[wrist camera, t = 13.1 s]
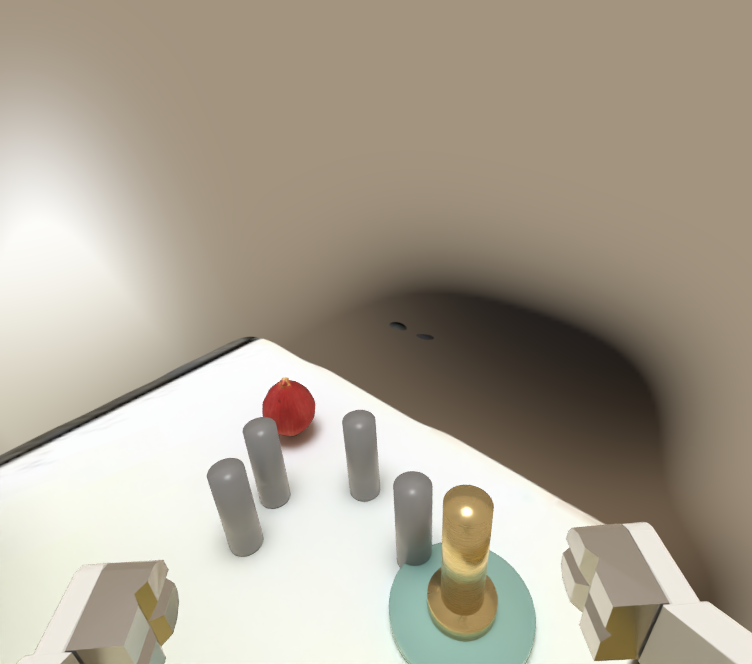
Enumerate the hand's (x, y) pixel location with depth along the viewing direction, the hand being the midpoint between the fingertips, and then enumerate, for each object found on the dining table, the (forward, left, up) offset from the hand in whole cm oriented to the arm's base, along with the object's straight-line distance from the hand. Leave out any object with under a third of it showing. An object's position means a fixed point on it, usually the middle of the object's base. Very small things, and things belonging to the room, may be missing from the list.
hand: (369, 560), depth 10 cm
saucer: (+6, +15, -30) cm, 34 cm away
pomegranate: (-9, +37, -30) cm, 49 cm away
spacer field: (-5, +24, -30) cm, 39 cm away
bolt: (+6, +15, -29) cm, 33 cm away
